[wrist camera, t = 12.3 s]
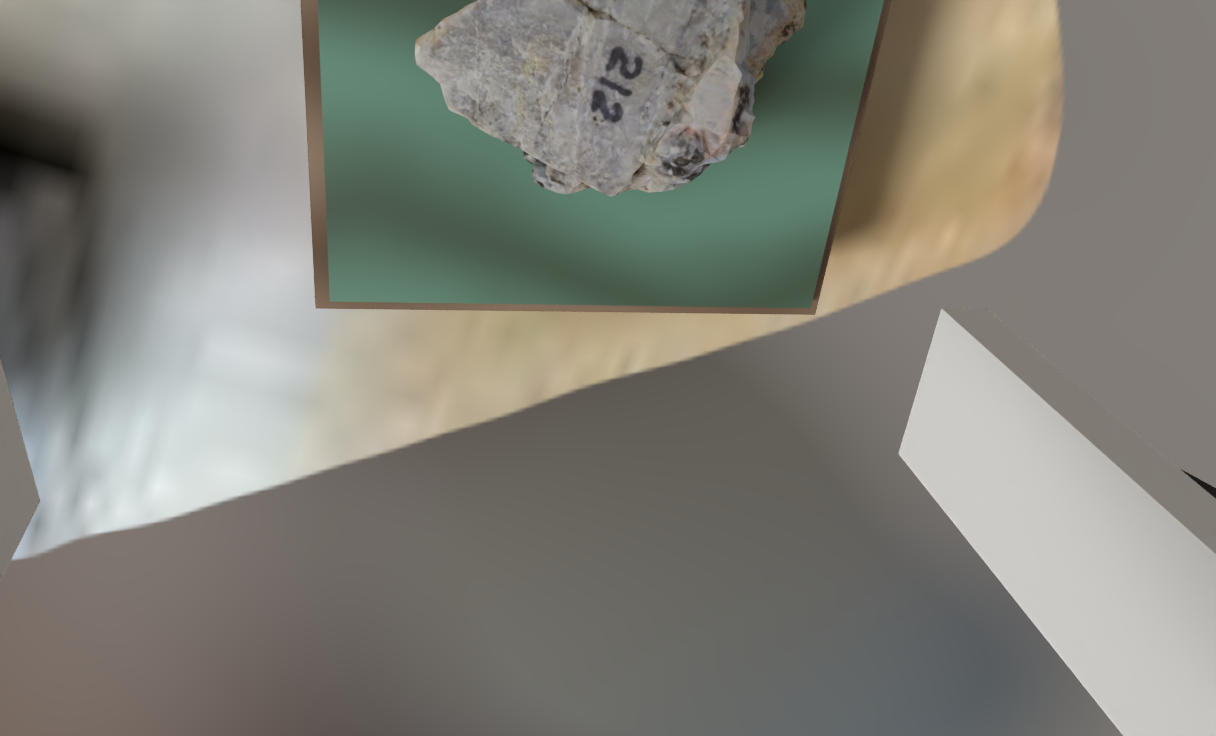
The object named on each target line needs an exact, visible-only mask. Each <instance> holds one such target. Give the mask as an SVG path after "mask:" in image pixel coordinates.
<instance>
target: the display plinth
mask: <svg viewBox="0 0 1216 736" xmlns="http://www.w3.org/2000/svg"><path fill="white" fill-rule="evenodd" d="M475 1H477V0H301V18H302V38H303V59H304V79H305V100H306V120H307V141H308V161H309V182H310V202H311V223H312V243H313V264H314V284H315V304H316V308H331V309H411V310H491V311H570V312H650V313H730V314H810V315H815V313H816V309H817V305H818V300H819V296H820V292H821V288H822V284H823V280H824V276H825V271H826V267H827V263H828V259H829V255H830V251H831V247H832V242H833V238H834V234H835V230H836V226H837V222H838V218H839V214H840V209H841V205H842V201H843V197H844V193H845V189H846V185H847V180H848V176H849V172H850V168H851V164H852V160H853V156H854V151H855V147H856V143H857V139H858V135H859V131H860V127H861V122H862V118H863V114H864V110H865V106H866V102H867V98H868V94H869V89H870V85H871V81H872V77H873V73H874V69H875V65H876V60H877V56H878V52H879V48H880V44H881V40H882V36H883V31H884V27H885V23H886V19H887V15H888V11H889V7H890V3H891V0H806V3H807V7H806V13H805V19H804V25H803V27H802V28H801V29H799V30H797V31H796V32H795V33H794V34H793V35H792V36H791V37H790V38H789V39H788V40H787V41H786V42H785V43H783V44H781V45H778V46H777V48H776V50H775V52H774V54H773V56H772V57H770V58H769V59H768V60H767V61H766V64H765V68H764V72H763V77H762V78H761V79H759V80H758V81H757V82H756V83H755V84H754V89H755V91H754V93H753V96H754V101H755V102H754V104H753V107H752V112H753V115H754V116H755V119H754V121H753V123H752V129H751V135H750V138H749V139H748V141H747V143H746V145H745V147H740V148H735V149H734V150H733V151H732V152H731V154H730V155H729V156H728V157H727V158H726V159H724V160H722V161H720V162H715V163H711V164H710V165H709V166H708V167H707V168H706V170H705V171H704V172H703V173H702V174H701V175H699V176H698V177H697V178H695V179H694V180H692V181H691V182H690V183H685V184H684V185H683V186H682V187H681V188H678V189H674V190H669V191H663V192H652V193H648V192H645V191H642V190H638V189H636V190H628V191H625V192H623V193H620V194H618V195H617V196H613V197H609V196H607V195H605V194H603V193H601V192H599V191H597V190H595V189H593V188H591V189H584V190H581V191H578V192H575V193H570V194H566V195H565V194H560V193H556V192H554V191H551V190H549V189H545V188H542V187H540V186H539V185H538V184H537V183H536V182H534V181H533V176H532V169H533V165H532V164H530V163H529V162H528V161H527V160H525V159H524V153H523V150H521V149H519V148H517V147H515V146H513V145H511V144H509V143H507V142H504V141H502V140H500V139H497V138H495V137H493V136H491V135H489V134H487V133H486V132H484V131H482V130H480V129H479V128H477V127H475V126H474V125H472V124H471V122H470V121H469V119H468V118H465V117H463V116H461V115H459V114H456V113H454V112H452V111H450V110H449V109H448V107H447V105H446V103H445V100H444V96H443V92H442V89H441V85H440V83H439V82H437V81H436V80H435V79H434V78H433V77H432V76H431V75H430V74H428V73H427V72H425V71H424V70H423V69H421V68H420V67H419V66H417V64H416V60H415V43H416V39H418V38H419V37H421V36H422V35H424V34H425V33H427V32H429V31H430V30H432V29H434V28H435V27H436V26H437V25H438V24H439V23H440V22H441V21H442V20H443V19H444V18H446V17H448V16H450V15H452V14H454V13H456V12H458V11H460V10H461V9H462V8H464V7H465V6H467V5H469V4H471V3H473V2H475Z"/></svg>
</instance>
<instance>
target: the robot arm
mask: <svg viewBox="0 0 1216 736" xmlns="http://www.w3.org/2000/svg"><path fill="white" fill-rule="evenodd" d="M899 455H900V456H901V457H902V459H903V460H904V461H905V462H906V464H907V465H908V466H909V468H910V469H911V470H912V471H913V473H914V474H915V475H916V476H917V477H918V479H919V480H920V481H921V483H922V484H923V485H924V486H925V487H926V489H927V490H928V491H929V493H930V494H931V495H932V496H933V498H934V499H935V500H936V501H937V503H938V504H939V505H940V506H941V508H942V509H943V510H944V511H945V513H946V514H947V515H948V516H949V518H950V519H951V520H952V521H953V523H954V524H955V525H956V526H957V528H958V529H959V530H960V531H961V533H962V534H963V535H964V536H965V537H966V539H967V540H968V541H969V543H970V544H971V545H972V547H973V548H974V549H975V550H976V552H977V553H978V554H979V555H980V556H981V558H982V559H983V560H984V562H985V563H986V564H987V565H988V567H989V568H990V569H991V570H992V572H993V573H994V574H995V575H996V577H997V578H998V579H999V580H1000V582H1001V583H1002V584H1003V585H1004V587H1005V588H1006V589H1007V590H1008V592H1009V593H1010V594H1011V596H1012V597H1013V598H1014V599H1015V600H1016V602H1017V603H1018V604H1019V606H1020V607H1021V608H1022V609H1023V611H1024V612H1025V613H1026V614H1027V616H1028V617H1029V618H1030V619H1031V620H1032V622H1033V623H1034V624H1035V626H1036V627H1037V628H1038V629H1039V631H1040V632H1041V633H1042V634H1043V636H1044V637H1045V638H1046V639H1047V641H1048V642H1049V643H1050V644H1051V646H1052V647H1053V648H1054V649H1055V651H1056V652H1057V653H1058V654H1059V656H1060V657H1061V658H1062V659H1063V661H1064V662H1065V663H1066V664H1067V666H1068V667H1069V668H1070V669H1071V671H1072V672H1073V673H1074V674H1075V676H1076V677H1077V678H1078V679H1079V681H1080V682H1081V683H1082V685H1083V686H1084V687H1085V688H1086V690H1087V691H1088V692H1089V693H1090V695H1091V696H1092V697H1093V698H1094V700H1095V701H1096V702H1097V703H1098V705H1099V706H1100V707H1101V708H1102V710H1103V711H1104V712H1105V713H1106V715H1107V716H1108V717H1109V718H1110V720H1111V721H1112V722H1113V723H1114V725H1115V726H1116V727H1117V728H1118V730H1119V731H1120V732H1121V733H1122V735H1123V736H1216V488H1214V487H1212V486H1211V485H1209V484H1207V483H1205V482H1203V481H1201V480H1200V479H1198V478H1196V477H1194V476H1192V475H1190V474H1189V473H1187V472H1185V471H1183V470H1181V469H1179V468H1178V467H1177V466H1176V465H1175V464H1173V463H1172V462H1171V461H1170V460H1168V459H1167V458H1166V457H1165V456H1164V455H1162V454H1161V453H1160V452H1159V451H1158V450H1156V449H1155V448H1154V447H1153V446H1152V445H1150V444H1149V443H1148V442H1147V441H1146V440H1144V439H1143V438H1142V437H1141V436H1140V435H1138V434H1137V433H1136V432H1135V431H1134V430H1132V429H1131V428H1130V427H1129V426H1128V425H1126V424H1125V423H1124V422H1123V421H1121V420H1120V419H1119V418H1118V417H1117V416H1115V415H1114V414H1113V413H1112V412H1111V411H1109V410H1108V409H1107V408H1106V407H1105V406H1103V405H1102V404H1101V403H1100V402H1099V401H1097V400H1096V399H1095V398H1094V397H1093V396H1091V395H1090V394H1089V393H1088V392H1087V391H1085V390H1084V389H1083V388H1082V387H1080V386H1079V385H1078V384H1077V383H1076V382H1075V381H1073V380H1072V379H1071V378H1070V377H1068V376H1067V375H1066V374H1065V373H1063V372H1062V371H1061V370H1060V369H1059V368H1058V367H1056V366H1055V365H1054V364H1053V363H1052V362H1050V361H1049V360H1048V359H1047V358H1046V357H1044V356H1043V355H1042V354H1041V353H1040V352H1038V351H1037V350H1036V349H1035V348H1033V347H1032V346H1031V345H1030V344H1029V343H1028V342H1026V341H1025V340H1024V339H1023V338H1021V337H1020V336H1019V335H1018V334H1016V333H1015V332H1014V331H1013V330H1012V329H1011V328H1009V327H1008V326H1007V325H1006V324H1005V323H1003V322H1002V321H1001V320H1000V319H998V318H997V317H996V316H995V315H994V314H993V313H991V312H990V311H989V310H988V309H987V308H942V309H941V312H940V316H939V319H938V322H937V326H936V329H935V332H934V336H933V339H932V343H931V346H930V350H929V353H928V356H927V360H926V363H925V366H924V370H923V373H922V376H921V380H920V383H919V386H918V390H917V393H916V397H915V400H914V403H913V407H912V410H911V413H910V417H909V420H908V424H907V427H906V430H905V434H904V437H903V440H902V444H901V447H900V451H899ZM39 502H40V498H39V495H38V491H37V488H36V484H35V481H34V477H33V473H32V470H31V466H30V463H29V459H28V456H27V452H26V448H25V445H24V441H23V438H22V434H21V431H20V427H19V423H18V420H17V416H16V413H15V409H14V405H13V402H12V398H11V395H10V391H9V388H8V384H7V380H6V377H5V373H4V370H3V366H2V363H1V359H0V581H1V579H2V577H3V575H4V573H5V571H6V569H7V567H8V565H9V563H10V561H11V559H12V557H13V555H14V553H15V551H16V549H17V547H18V545H19V543H20V541H21V539H22V537H23V535H24V533H25V531H26V529H27V527H28V525H29V523H30V521H31V519H32V517H33V515H34V513H35V510H36V508H37V506H38V504H39Z"/></svg>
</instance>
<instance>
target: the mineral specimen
mask: <svg viewBox="0 0 1216 736" xmlns="http://www.w3.org/2000/svg"><path fill="white" fill-rule="evenodd" d="M806 7H807V3H806V0H477V1H475V2H473V3H471V4H469V5H467V6H465V7H464V8H462V9H461V10H460V11H458V12H456V13H454V14H452V15H450V16H448V17H446V18H444V19H443V20H442V21H441V22H440V23H439V24H438V25H437V26H436V27H435V28H434V29H432V30H430V31H429V32H427V33H425V34H424V35H422V36H421V37H419V38H418V39H416V43H415V60H416V64H417V66H419V67H420V68H421V69H423V70H424V71H425V72H427V73H428V74H430V75H431V76H432V77H433V78H434V79H435V80H436V81H437V82H439V83H440V85H441V89H442V92H443V96H444V100H445V103H446V105H447V107H448V109H449V110H450V111H452V112H454V113H456V114H459V115H461V116H463V117H465V118H468V119H469V121H470V122H471V124H472V125H474V126H475V127H477V128H479V129H480V130H482V131H484V132H486V133H487V134H489V135H491V136H493V137H495V138H497V139H500V140H502V141H504V142H507V143H509V144H511V145H513V146H515V147H517V148H519V149H521V150H523V153H524V159H525V160H527V161H528V162H529V163H530V164H532V165H533V169H532V176H533V181H534V182H536V183H537V184H538V185H539V186H540V187H542V188H545V189H549V190H551V191H554V192H556V193H560V194H565V195H566V194H570V193H575V192H578V191H581V190H584V189H591V188H593V189H595V190H597V191H599V192H601V193H603V194H605V195H607V196H609V197H613V196H617V195H618V194H620V193H623V192H625V191H628V190H636V189H638V190H642V191H645V192H648V193H652V192H663V191H669V190H674V189H678V188H681V187H682V186H683V185H684V184H685V183H690V182H691V181H692V180H694V179H695V178H697V177H698V176H699V175H701V174H702V173H703V172H704V171H705V170H706V168H707V167H708V166H709V165H710V164H711V163H715V162H720V161H722V160H724V159H726V158H727V157H728V156H729V155H730V154H731V152H732V151H733V150H734V149H735V148H740V147H745V145H746V143H747V141H748V139H749V138H750V135H751V129H752V123H753V121H754V119H755V116H754V115H753V112H752V107H753V104H754V102H755V101H754V96H753V93H754V91H755V89H754V84H755V83H756V82H757V81H758V80H759V79H761V78H762V77H763V72H764V68H765V64H766V61H767V60H768V59H769V58H770V57H772V56H773V54H774V52H775V50H776V48H777V46H778V45H781V44H783V43H785V42H786V41H787V40H788V39H789V38H790V37H791V36H792V35H793V34H794V33H795V32H796V31H797V30H799V29H801V28H802V27H803V25H804V19H805V13H806Z"/></svg>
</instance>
